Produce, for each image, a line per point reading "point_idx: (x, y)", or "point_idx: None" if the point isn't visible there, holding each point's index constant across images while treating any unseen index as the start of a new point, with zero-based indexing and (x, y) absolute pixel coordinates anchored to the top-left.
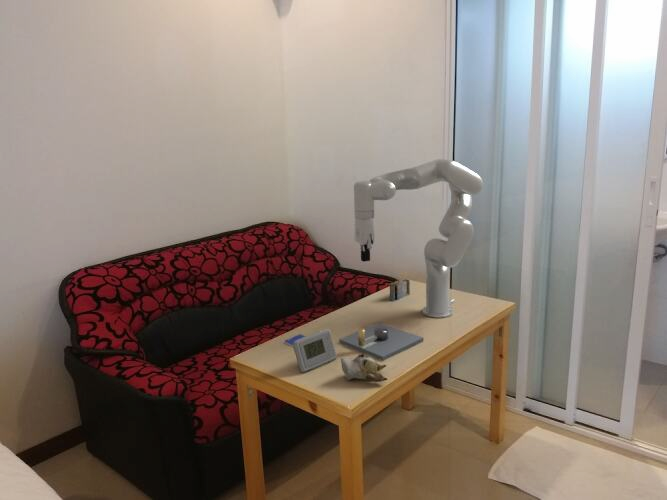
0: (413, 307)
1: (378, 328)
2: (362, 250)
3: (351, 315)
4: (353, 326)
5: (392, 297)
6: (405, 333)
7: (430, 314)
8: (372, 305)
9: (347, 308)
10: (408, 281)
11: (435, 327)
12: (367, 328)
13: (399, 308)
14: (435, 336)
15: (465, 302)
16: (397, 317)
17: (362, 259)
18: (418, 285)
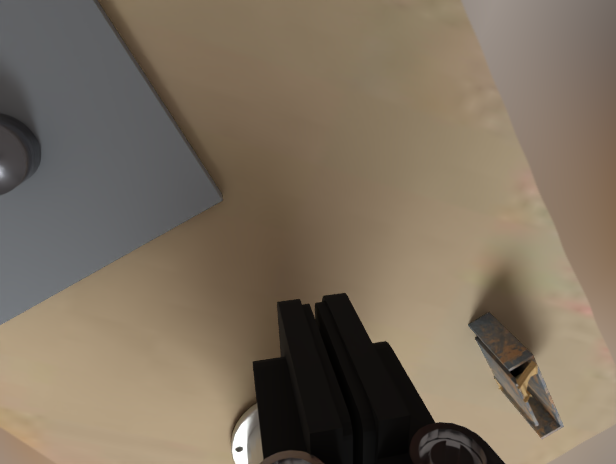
0: None
1: (11, 152)
2: (419, 448)
3: (402, 103)
4: (258, 68)
5: (484, 328)
6: (51, 275)
7: (253, 412)
8: (471, 231)
9: (494, 111)
10: (540, 429)
11: (143, 396)
12: (159, 119)
13: (388, 324)
14: (45, 376)
15: None
16: (296, 292)
17: (281, 318)
18: (565, 434)
